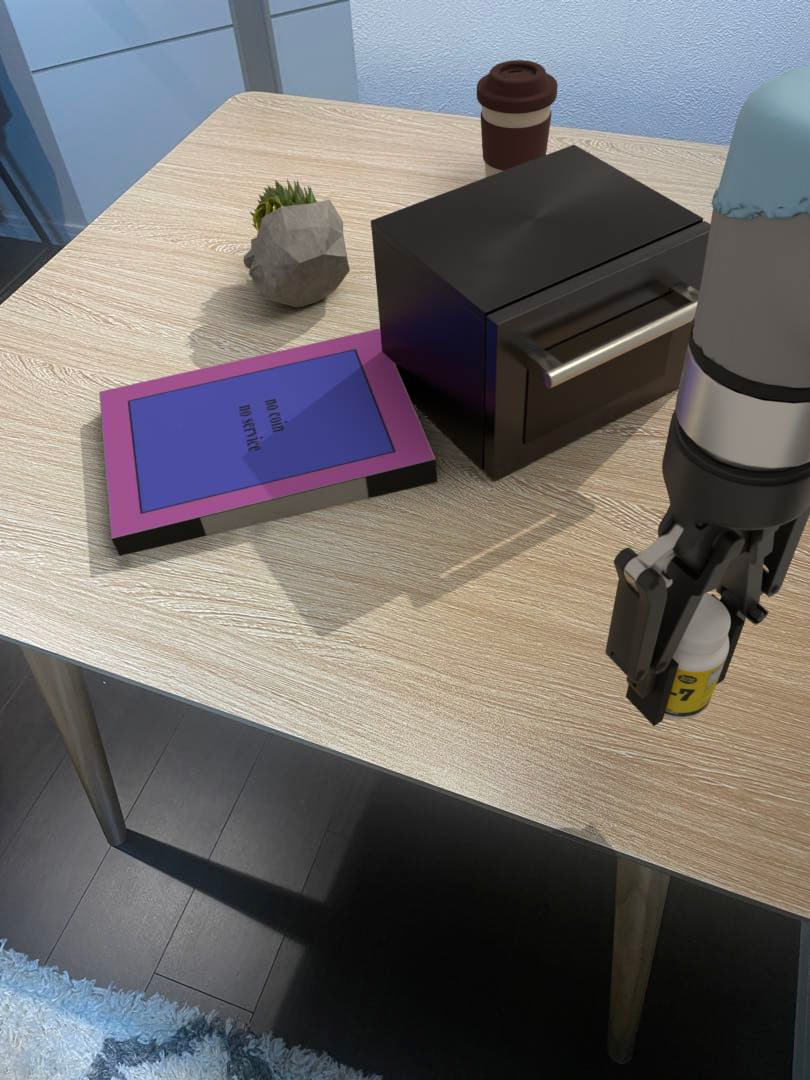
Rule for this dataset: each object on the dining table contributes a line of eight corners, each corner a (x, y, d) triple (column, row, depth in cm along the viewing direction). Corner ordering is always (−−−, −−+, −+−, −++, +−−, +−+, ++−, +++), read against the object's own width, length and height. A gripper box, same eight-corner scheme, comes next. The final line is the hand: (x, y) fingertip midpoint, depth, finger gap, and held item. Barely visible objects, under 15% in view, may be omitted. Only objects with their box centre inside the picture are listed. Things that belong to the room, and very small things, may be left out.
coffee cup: (535, 211, 118) (542, 92, 107) (464, 198, 121) (464, 81, 110) (560, 176, 124) (569, 59, 113) (492, 164, 127) (494, 50, 116)
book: (99, 391, 94) (379, 328, 98) (108, 413, 97) (382, 350, 100) (111, 538, 81) (435, 459, 84) (121, 560, 83) (437, 481, 87)
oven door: (709, 405, 92) (750, 246, 78) (518, 505, 84) (527, 347, 71) (671, 377, 95) (704, 220, 82) (483, 472, 87) (485, 315, 74)
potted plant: (244, 311, 101) (194, 220, 107) (324, 334, 111) (274, 249, 117) (309, 229, 95) (252, 136, 101) (387, 260, 105) (331, 175, 111)
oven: (670, 377, 95) (703, 218, 82) (482, 471, 87) (484, 312, 74) (560, 297, 105) (574, 144, 92) (383, 375, 98) (370, 220, 84)
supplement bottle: (624, 695, 61) (640, 620, 55) (660, 649, 63) (680, 572, 57) (688, 735, 59) (713, 661, 53) (724, 686, 61) (752, 610, 55)
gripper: (819, 319, 49) (730, 592, 66) (556, 454, 43) (533, 713, 60) (943, 391, 44) (813, 663, 62) (668, 552, 39) (609, 802, 56)
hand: (675, 688), depth 61 cm, fingers closed on supplement bottle, 5 cm apart
